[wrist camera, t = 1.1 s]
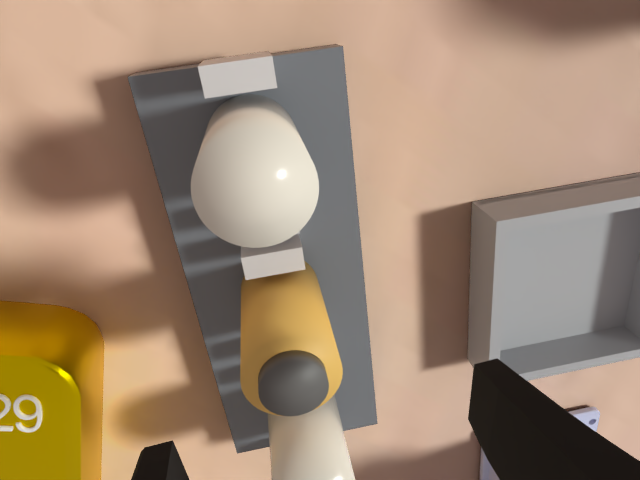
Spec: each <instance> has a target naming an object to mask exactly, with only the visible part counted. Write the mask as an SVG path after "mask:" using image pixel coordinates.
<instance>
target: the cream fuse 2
mask: <svg viewBox="0 0 640 480" xmlns="http://www.w3.org/2000/svg"><path fill="white" fill-rule="evenodd" d="M268 428H269V444H270V460H271V476H272V480H355V477H354V473H353V469H352V464H351V460H350V456H349V452H348V448H347V444H346V440H345V436H344V432H343V428H342V423H341V419H340V415H339V411H338V407H337V403H336V399H335V395H333V396H332V398H330V399H329V400H328V401H327V402H326V403H325V404H323V405H322V406H320V407H319V408H317V409H315V410H313V411H310V412H308V413H305V414H302V415H298V416H278V415H273V414H269V413H268Z"/></svg>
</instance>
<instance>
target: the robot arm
mask: <svg viewBox="0 0 640 480" xmlns="http://www.w3.org/2000/svg"><path fill="white" fill-rule="evenodd" d="M599 417H600V412H599V411H598V409H597V408H596V407H587V408H583V409H578V410H574V411H569V412H567V411H566V410H565V409H563V408H562V407H561V406H559V405H558V404H557V403H555V402H554V401H553V400H551V399H550V398H549V397H547V396H546V395H545V394H543V393H542V392H541V391H539V390H538V389H537V388H536V387H534V386H533V385H532V384H530V383H529V382H528V381H526V380H525V379H524V378H523V377H521V376H520V375H519V374H517V373H516V372H515V371H514V370H512V369H511V368H510V367H508V366H507V365H506V364H504V363H503V362H502V361H500V360H499V359H498V358H497V359H493V360H489V361H485V362H481V363H477V364H474V371H473V380H472V389H471V398H470V407H469V416H468V420H469V422H470V424H471V426H472V428H473V430H474V433H475V435H476V437H477V439H478V441H479V443H480V445H481V461H480V480H640V461H639V460H637V459H635V458H634V457H632V456H631V455H629V454H628V453H626V452H625V451H623V450H622V449H620V448H619V447H617V446H616V445H614V444H613V443H611V442H610V441H608V440H607V439H605V438H604V437H603V436H601V435H600V434H598V433H597V432H596V431H597V427H598V422H599ZM131 480H189V478H188V475H187V473H186V471H185V468H184V466H183V464H182V461H181V459H180V456H179V454H178V452H177V449H176V447H175V445H174V442H173V441H169V442H165V443H161V444H157V445H153V446H149V447H145V448H144V449H143V450H142V451H141V453H140V456H139V459H138V462H137V465H136V468H135V471H134V473H133V476H132V479H131Z"/></svg>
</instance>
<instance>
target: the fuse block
mask: <svg viewBox="0 0 640 480" xmlns="http://www.w3.org/2000/svg"><path fill="white" fill-rule="evenodd" d="M128 80H129V84H130V87H131V91H132V94H133V98H134V101H135V104H136V108H137V111H138V115H139V118H140V122H141V125H142V128H143V132H144V135H145V139H146V142H147V146H148V149H149V152H150V156H151V159H152V163H153V166H154V170H155V173H156V176H157V180H158V183H159V187H160V190H161V194H162V197H163V200H164V204H165V207H166V211H167V214H168V218H169V221H170V224H171V228H172V231H173V235H174V238H175V242H176V245H177V248H178V252H179V255H180V259H181V262H182V266H183V269H184V272H185V276H186V279H187V283H188V286H189V290H190V293H191V296H192V300H193V303H194V307H195V310H196V314H197V317H198V320H199V324H200V327H201V331H202V334H203V338H204V341H205V344H206V348H207V351H208V355H209V358H210V362H211V365H212V368H213V372H214V375H215V379H216V382H217V386H218V389H219V392H220V396H221V399H222V403H223V406H224V410H225V413H226V416H227V420H228V423H229V427H230V430H231V434H232V437H233V440H234V444H235V447H236V451H237V453H241V452H246V451H251V450H256V449H260V448H265V447H270V444H269V428H268V413H266V412H263V411H261V410H259V409H257V408H256V407H255V406H253V405H252V404H251V403H250V402H249V401H248V400H247V399H246V397H245V395H244V394H243V391H242V389H241V383H240V359H241V283H242V280H243V277H244V275H245V279H246V280H250V279H255V278H261V277H266V276H272V275H277V274H283V273H288V272H294V271H299V270H305V262H307V263H308V264H309V265H310V266H311V267H312V269H313V270H314V272H315V274H316V276H317V279H318V283H319V286H320V290H321V293H322V296H323V300H324V303H325V307H326V310H327V314H328V317H329V321H330V324H331V328H332V331H333V335H334V338H335V342H336V345H337V349H338V352H339V356H340V359H341V362H342V367H343V376H342V380H341V384H340V386H339V388H338V390H337V391H336V393H335V394H334V395H335V399H336V403H337V407H338V411H339V415H340V419H341V423H342V428H343V431H345V430H350V429H355V428H360V427H364V426H369V425H374V424H377V414H376V403H375V392H374V381H373V370H372V359H371V348H370V337H369V327H368V316H367V305H366V294H365V283H364V272H363V261H362V250H361V239H360V228H359V217H358V206H357V195H356V184H355V173H354V162H353V151H352V140H351V129H350V118H349V107H348V96H347V85H346V74H345V63H344V52H343V46H340V45H337V44H334V45H327V46H320V47H313V48H306V49H299V50H292V51H285V52H278V53H270V52H269V51H265V52H258V53H250V54H243V55H236V56H229V57H222V58H215V59H208V60H203V61H202V62H201V63H200V64H193V65H186V66H179V67H172V68H165V69H158V70H151V71H144V72H137V73H134V74H132V75H130V76H128ZM245 94H256V95H262V96H265V97H268V98H270V99H272V100H274V101H275V102H277V103H278V104H280V105H281V106H282V107H283V108H284V109H285V110H286V111H287V112H288V114H289V115H290V117H291V119H292V121H293V123H294V125H295V127H296V129H297V131H298V133H299V135H300V137H301V139H302V141H303V143H304V145H305V147H306V149H307V151H308V153H309V155H310V157H311V159H312V161H313V163H314V165H315V168H316V171H317V175H318V180H319V196H318V201H317V205H316V207H315V210H314V212H313V214H312V216H311V218H310V219H309V221H308V222H307V224H306V225H305V226H304V227H303V228H302V229H301V230H300V231H299V232H298V233H297V234H295V235H294V236H292V237H291V238H289V239H288V240H286V241H284V242H282V243H279V244H276V245H273V246H268V247H261V248H250V247H242V246H238V245H235V244H232V243H229V242H227V241H225V240H223V239H221V238H220V237H218V236H217V235H215V234H214V233H213V232H212V231H210V230H209V229H208V228H207V227H206V226H205V224H204V223H203V222H202V220H201V219H200V217H199V216H198V214H197V212H196V210H195V207H194V204H193V201H192V196H191V177H192V173H193V169H194V166H195V163H196V160H197V157H198V154H199V150H200V147H201V144H202V141H203V138H204V135H205V132H206V129H207V126H208V123H209V121H210V118H211V117H212V115H213V113H214V112H215V111H216V109H217V108H218V107H219V106H220V105H221V104H223V103H224V102H225V101H227V100H229V99H231V98H233V97H236V96H239V95H245ZM304 261H305V262H304Z"/></svg>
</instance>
